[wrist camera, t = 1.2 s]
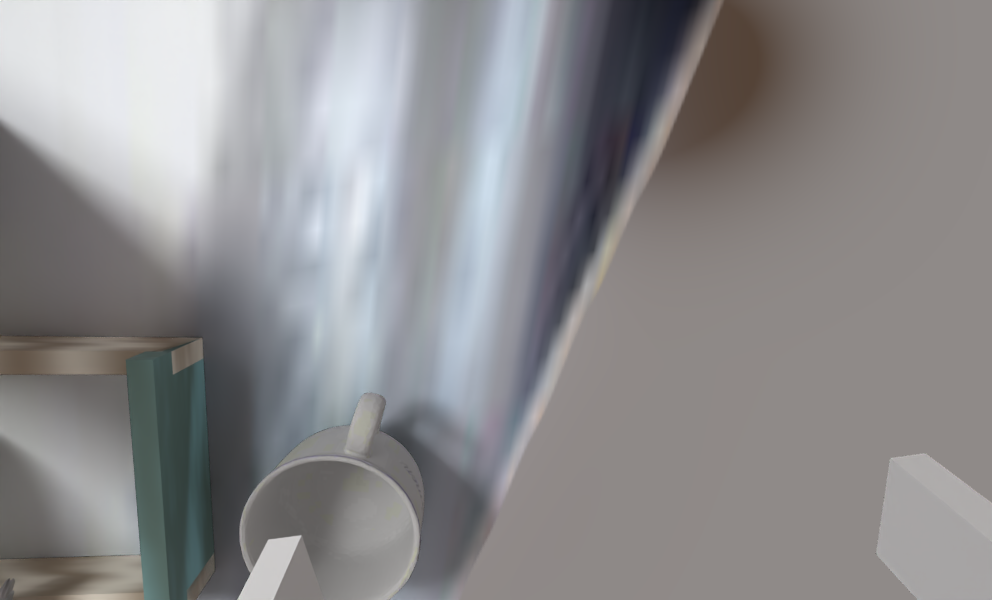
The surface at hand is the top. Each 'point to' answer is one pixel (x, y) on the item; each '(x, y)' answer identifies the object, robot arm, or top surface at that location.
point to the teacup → (344, 507)
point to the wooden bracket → (135, 469)
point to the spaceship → (7, 590)
